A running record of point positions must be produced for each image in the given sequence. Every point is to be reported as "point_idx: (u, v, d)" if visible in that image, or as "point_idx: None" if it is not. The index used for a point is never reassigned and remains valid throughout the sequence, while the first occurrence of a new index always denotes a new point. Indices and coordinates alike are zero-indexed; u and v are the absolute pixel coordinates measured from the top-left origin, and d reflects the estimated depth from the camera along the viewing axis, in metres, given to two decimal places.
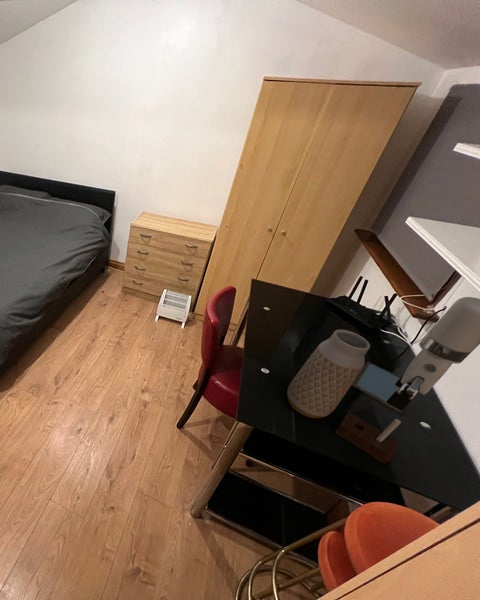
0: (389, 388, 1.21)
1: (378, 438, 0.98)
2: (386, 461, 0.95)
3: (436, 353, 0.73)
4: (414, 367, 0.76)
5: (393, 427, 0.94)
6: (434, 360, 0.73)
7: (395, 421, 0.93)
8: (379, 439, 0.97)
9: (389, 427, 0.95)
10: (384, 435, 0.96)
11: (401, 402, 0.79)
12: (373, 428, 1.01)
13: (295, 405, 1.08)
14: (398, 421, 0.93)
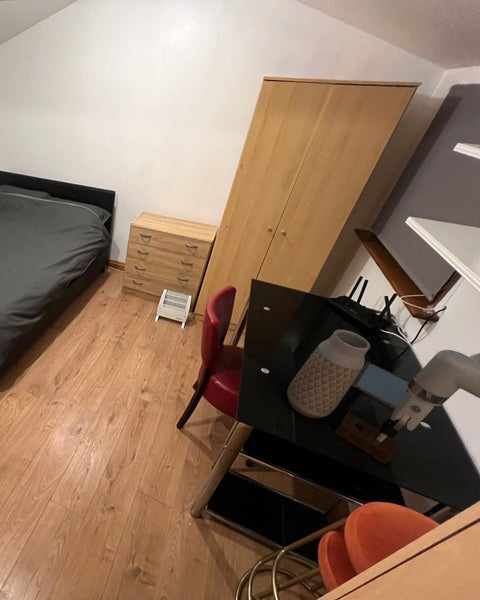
0: (389, 388, 1.21)
1: (378, 438, 0.98)
2: (386, 461, 0.95)
3: (421, 396, 0.85)
4: (402, 407, 0.88)
5: None
6: (419, 402, 0.85)
7: (395, 421, 0.93)
8: (379, 439, 0.97)
9: None
10: (384, 435, 0.96)
11: (391, 432, 0.93)
12: (373, 428, 1.01)
13: (295, 405, 1.08)
14: None
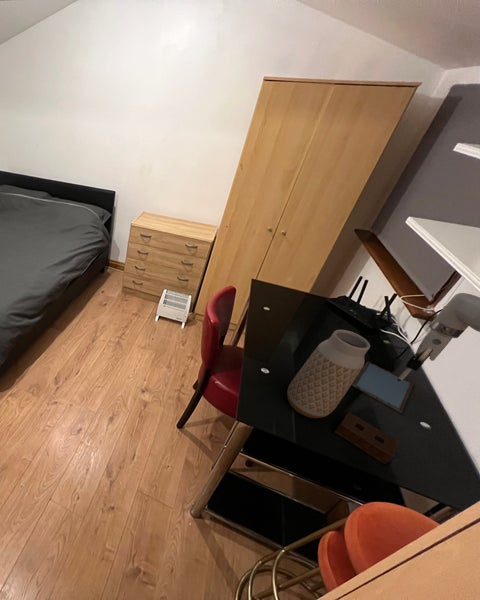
0: (389, 388, 1.21)
1: (404, 372, 1.20)
2: (386, 461, 0.95)
3: (441, 331, 1.07)
4: (426, 341, 1.10)
5: None
6: (440, 336, 1.07)
7: None
8: (405, 373, 1.20)
9: None
10: (409, 369, 1.18)
11: (416, 365, 1.16)
12: (373, 428, 1.01)
13: (295, 405, 1.08)
14: None
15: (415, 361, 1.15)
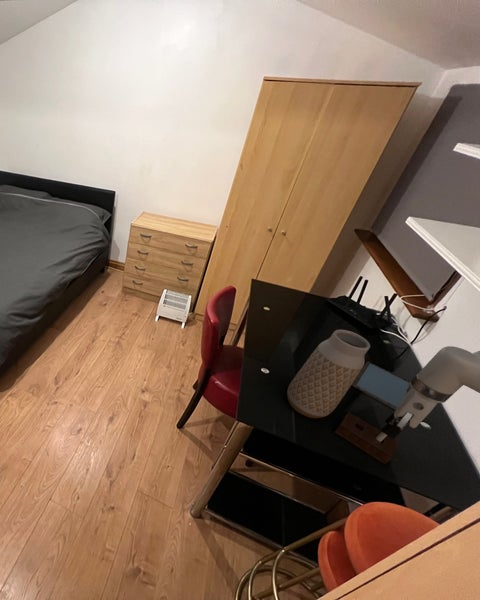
0: (389, 388, 1.21)
1: (377, 438, 0.98)
2: (386, 461, 0.95)
3: (424, 393, 0.84)
4: (405, 404, 0.87)
5: None
6: (422, 399, 0.84)
7: None
8: (379, 439, 0.98)
9: None
10: (383, 435, 0.96)
11: (393, 432, 0.92)
12: (373, 428, 1.01)
13: (295, 405, 1.08)
14: (397, 421, 0.93)
15: (392, 427, 0.92)
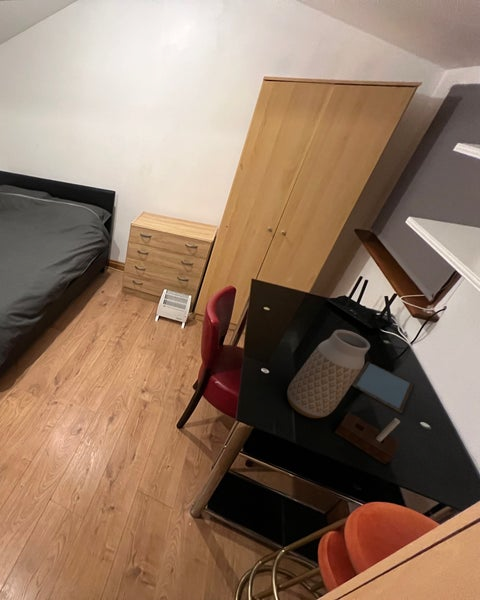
0: (389, 388, 1.21)
1: (377, 438, 0.98)
2: (386, 461, 0.95)
3: None
4: None
5: (392, 427, 0.94)
6: None
7: (394, 421, 0.93)
8: (379, 439, 0.98)
9: (388, 427, 0.95)
10: (383, 435, 0.96)
11: None
12: (373, 428, 1.01)
13: (295, 405, 1.08)
14: (397, 421, 0.93)
15: None
